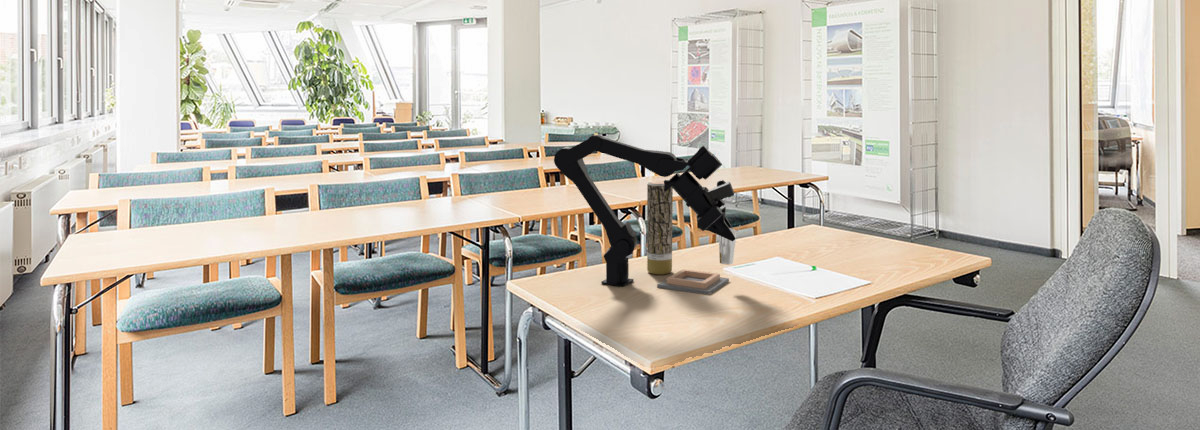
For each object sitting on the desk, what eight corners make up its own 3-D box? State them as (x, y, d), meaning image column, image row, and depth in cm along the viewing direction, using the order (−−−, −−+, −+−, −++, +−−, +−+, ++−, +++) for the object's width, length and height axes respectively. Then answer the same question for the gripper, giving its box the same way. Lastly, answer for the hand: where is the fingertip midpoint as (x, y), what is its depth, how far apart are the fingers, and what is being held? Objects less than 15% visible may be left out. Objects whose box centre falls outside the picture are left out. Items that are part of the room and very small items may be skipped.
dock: (708, 294, 173) (709, 285, 173) (657, 287, 180) (657, 278, 180) (728, 281, 185) (728, 273, 184) (679, 274, 192) (679, 267, 191)
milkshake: (740, 265, 176) (742, 226, 174) (718, 265, 176) (720, 225, 174) (737, 261, 180) (738, 222, 179) (715, 260, 180) (717, 222, 179)
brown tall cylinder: (670, 275, 191) (671, 184, 187) (645, 274, 192) (645, 183, 188) (673, 269, 197) (673, 181, 193) (648, 268, 199) (649, 180, 194)
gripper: (713, 175, 166) (759, 223, 166) (718, 166, 184) (759, 210, 183) (679, 206, 169) (723, 254, 169) (686, 195, 187) (726, 238, 186)
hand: (734, 238), depth 177 cm, fingers closed on milkshake, 4 cm apart
